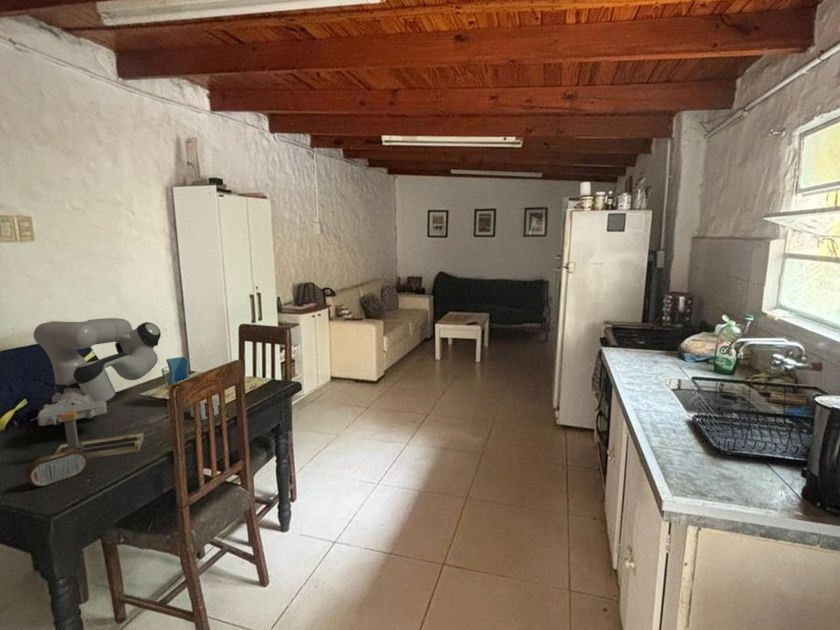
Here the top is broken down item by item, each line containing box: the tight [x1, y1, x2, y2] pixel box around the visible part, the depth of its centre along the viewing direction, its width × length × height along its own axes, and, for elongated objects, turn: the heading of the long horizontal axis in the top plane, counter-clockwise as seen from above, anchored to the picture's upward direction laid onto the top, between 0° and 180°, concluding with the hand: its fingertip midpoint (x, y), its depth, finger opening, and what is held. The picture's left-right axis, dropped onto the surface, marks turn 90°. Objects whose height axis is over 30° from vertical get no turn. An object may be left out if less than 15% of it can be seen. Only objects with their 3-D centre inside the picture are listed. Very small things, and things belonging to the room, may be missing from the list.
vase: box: [166, 356, 190, 387], centre depth 208 cm, size 8×8×20 cm
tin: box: [25, 449, 89, 488], centre depth 143 cm, size 15×3×8 cm, turn 141°
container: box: [189, 395, 219, 421], centre depth 194 cm, size 8×8×13 cm
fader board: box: [53, 432, 145, 460], centre depth 163 cm, size 12×25×3 cm, turn 112°
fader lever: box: [61, 410, 84, 452], centre depth 157 cm, size 4×5×14 cm
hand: (73, 419), depth 167 cm, fingers open, 8 cm apart
